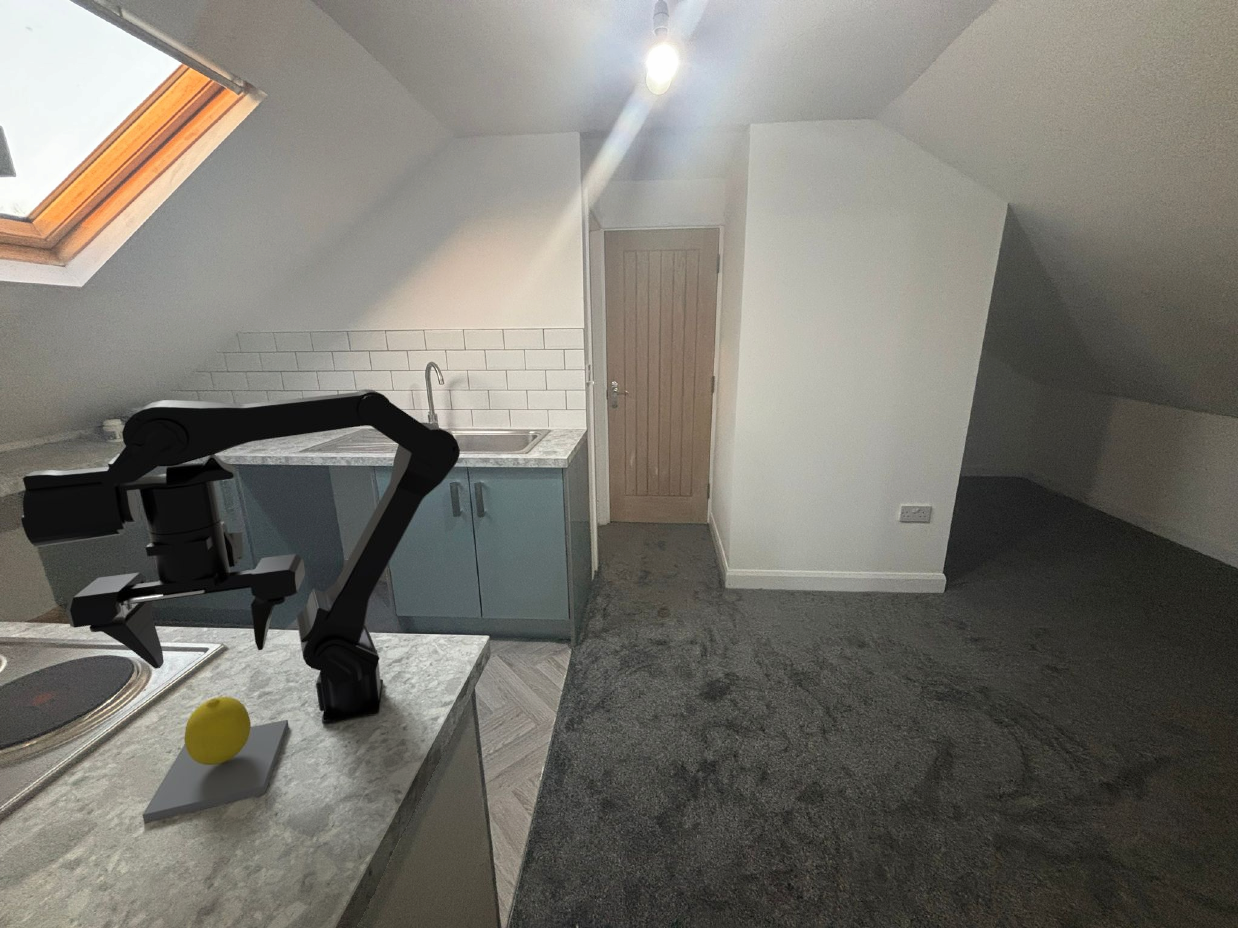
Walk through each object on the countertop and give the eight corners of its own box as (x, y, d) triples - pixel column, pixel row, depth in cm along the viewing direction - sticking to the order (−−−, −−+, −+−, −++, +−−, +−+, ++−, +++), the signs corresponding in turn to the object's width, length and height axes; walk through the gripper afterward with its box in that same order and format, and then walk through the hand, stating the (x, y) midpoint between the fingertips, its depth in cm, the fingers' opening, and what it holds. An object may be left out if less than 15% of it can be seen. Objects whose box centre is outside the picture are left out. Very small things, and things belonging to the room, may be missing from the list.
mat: (288, 726, 62) (287, 719, 62) (264, 793, 53) (262, 786, 52) (188, 746, 58) (187, 739, 58) (144, 822, 49) (142, 814, 49)
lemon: (222, 787, 52) (209, 723, 50) (177, 776, 53) (163, 713, 51) (267, 746, 58) (257, 686, 55) (226, 736, 58) (215, 678, 56)
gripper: (304, 493, 63) (319, 606, 66) (109, 509, 56) (138, 634, 59) (285, 523, 53) (304, 654, 56) (44, 547, 46) (84, 695, 49)
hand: (212, 656), depth 56 cm, fingers open, 9 cm apart
